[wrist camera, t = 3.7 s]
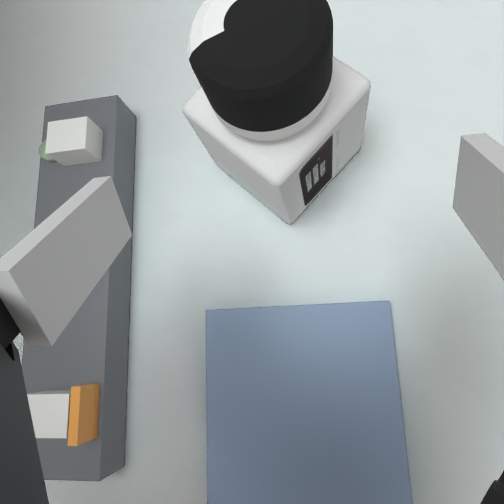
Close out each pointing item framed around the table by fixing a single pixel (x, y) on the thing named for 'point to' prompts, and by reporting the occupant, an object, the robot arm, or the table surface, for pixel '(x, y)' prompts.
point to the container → (274, 98)
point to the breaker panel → (85, 302)
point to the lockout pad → (304, 406)
